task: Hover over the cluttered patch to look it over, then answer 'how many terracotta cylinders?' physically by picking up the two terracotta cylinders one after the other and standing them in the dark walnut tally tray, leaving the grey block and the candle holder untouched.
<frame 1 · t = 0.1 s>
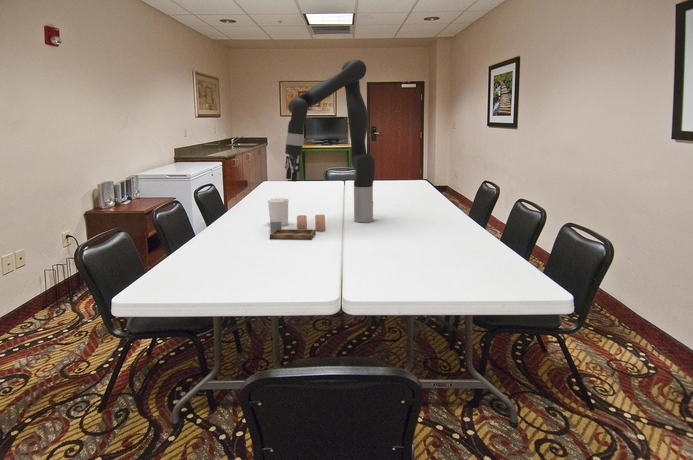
hand: (291, 180, 216), 23 cm above the table, tool pointing down, fingers open, 8 cm apart
grey block: (276, 231, 216), on the table
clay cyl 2: (302, 231, 216), on the table
candle holder: (279, 224, 230), on the table
tally tray: (293, 236, 207), on the table
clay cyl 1: (320, 230, 217), on the table
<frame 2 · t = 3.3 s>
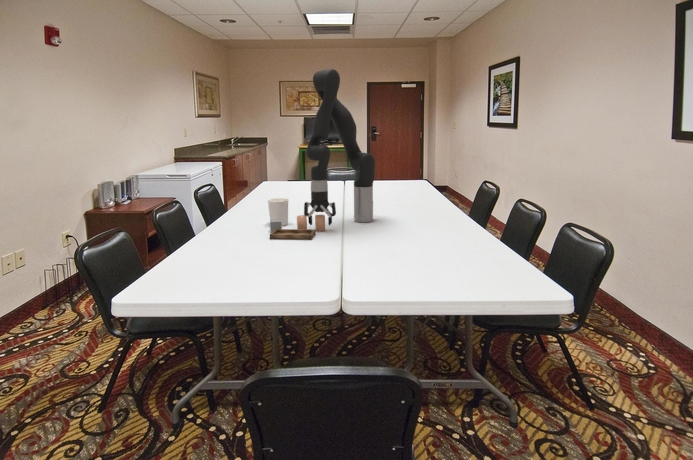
hand: (320, 224, 216), 3 cm above the table, tool pointing down, fingers open, 8 cm apart
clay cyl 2: (302, 231, 216), on the table, touching gripper
everything else where it was.
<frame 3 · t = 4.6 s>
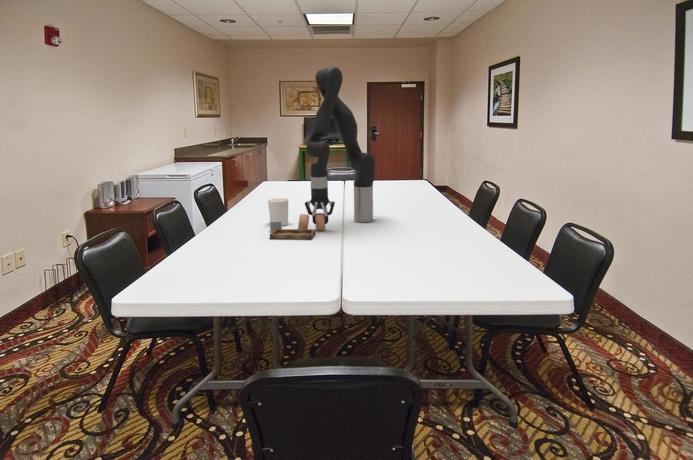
hand: (320, 223, 216), 3 cm above the table, tool pointing down, fingers closed on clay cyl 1, 4 cm apart
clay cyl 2: (302, 230, 215), on the table, tilted 12°
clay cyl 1: (320, 228, 216), point 1 cm above the table, touching gripper
everything else where it was.
when the fingers open (3 cm above the table, at t = 8.6 s): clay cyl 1 stays where it is, resting on tally tray.
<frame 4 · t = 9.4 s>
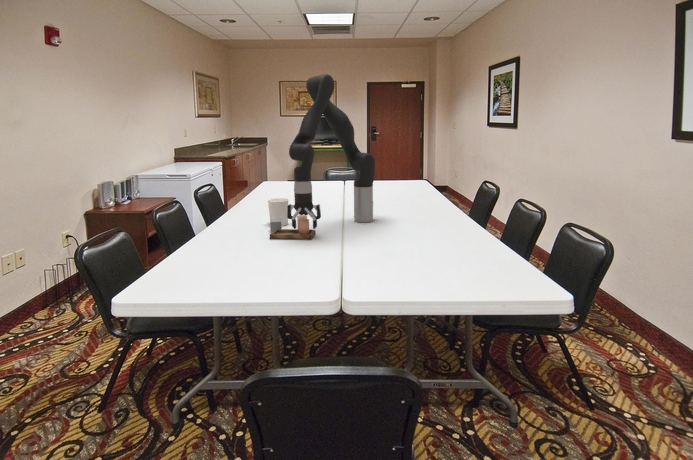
hand: (304, 228, 205), 4 cm above the table, tool pointing down, fingers open, 8 cm apart
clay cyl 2: (302, 231, 215), on the table
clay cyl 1: (304, 235, 206), point 1 cm above the table, touching tally tray
everything else where it was.
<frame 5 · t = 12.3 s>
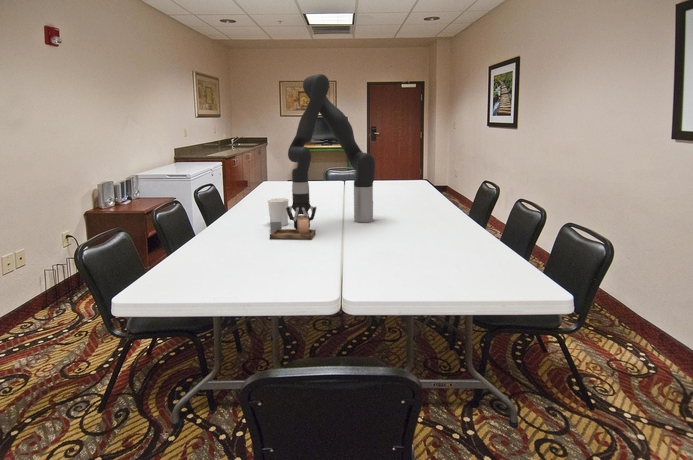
hand: (302, 228, 215), 1 cm above the table, tool pointing down, fingers closed on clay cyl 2, 4 cm apart
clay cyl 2: (302, 231, 215), on the table, touching gripper
everything else where it was.
when the fingers open (3 cm above the table, at t = 16.7 s): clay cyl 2 stays where it is, resting on tally tray.
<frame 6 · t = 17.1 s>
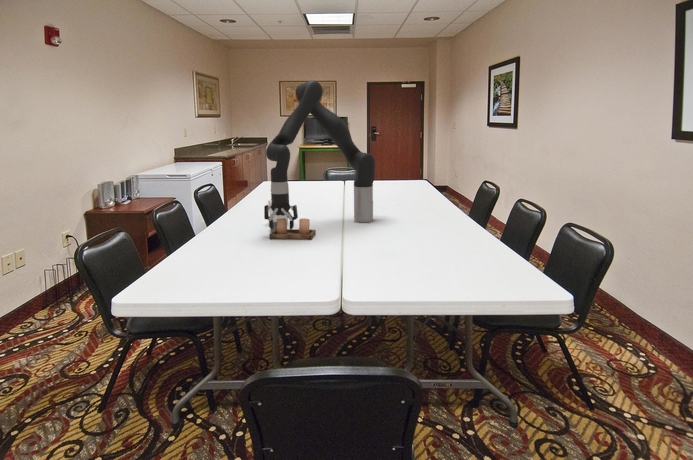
hand: (281, 228, 206), 3 cm above the table, tool pointing down, fingers open, 8 cm apart
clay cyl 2: (282, 235, 207), point 1 cm above the table, touching tally tray
everything else where it was.
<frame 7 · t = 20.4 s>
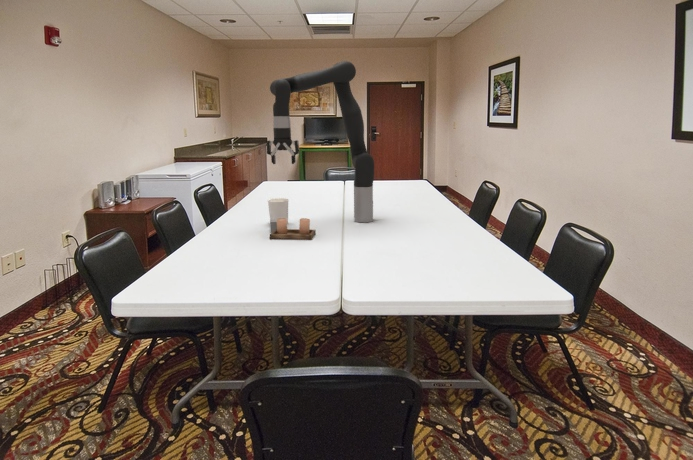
hand: (283, 164, 212), 30 cm above the table, tool pointing down, fingers open, 8 cm apart
nothing on the table moved.
at the end: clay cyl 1 inside the target area on the tally tray (4.9 cm from its centre), point 0.8 cm above the tally tray's base; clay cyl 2 inside the target area on the tally tray (4.8 cm from its centre), point 0.6 cm above the tally tray's base; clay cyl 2 tilted 1° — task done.
